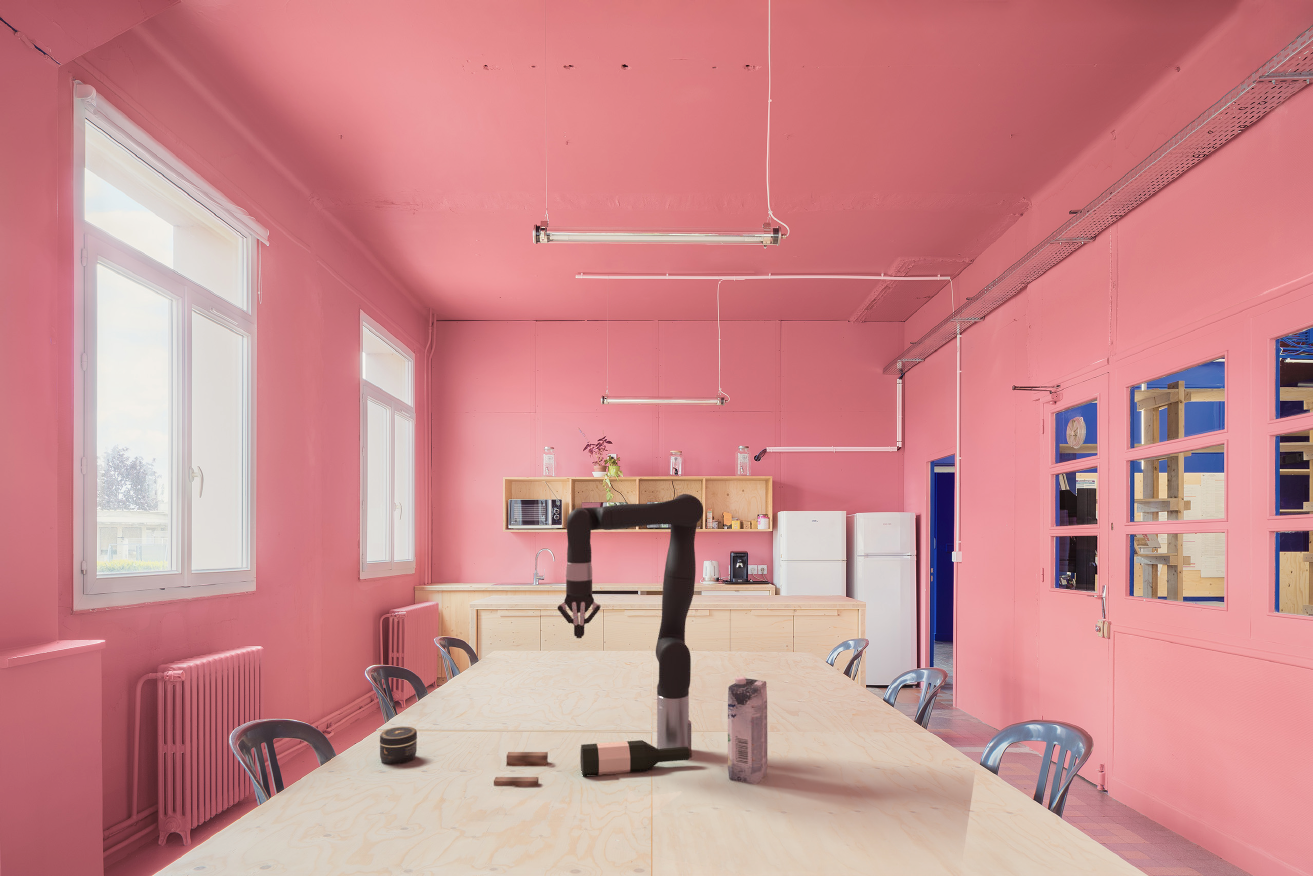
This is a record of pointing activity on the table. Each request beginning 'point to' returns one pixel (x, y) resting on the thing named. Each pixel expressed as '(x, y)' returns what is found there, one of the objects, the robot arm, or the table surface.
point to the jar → (398, 745)
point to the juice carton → (747, 730)
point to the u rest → (523, 760)
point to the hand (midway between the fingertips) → (579, 637)
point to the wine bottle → (626, 757)
